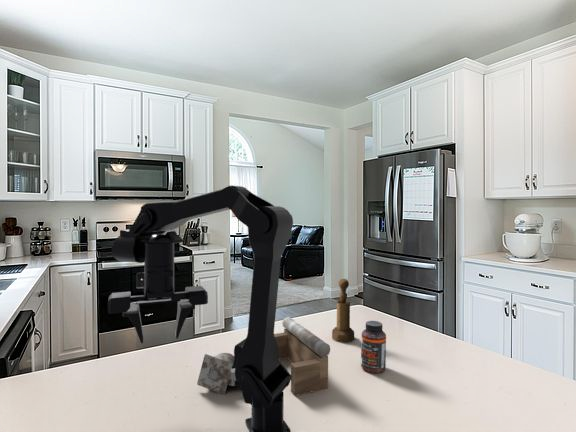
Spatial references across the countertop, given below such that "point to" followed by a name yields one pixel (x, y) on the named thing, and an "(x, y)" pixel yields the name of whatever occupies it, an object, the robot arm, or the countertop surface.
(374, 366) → the supplement bottle
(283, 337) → the cradle
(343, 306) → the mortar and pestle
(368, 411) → the countertop surface
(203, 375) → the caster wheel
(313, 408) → the countertop surface
